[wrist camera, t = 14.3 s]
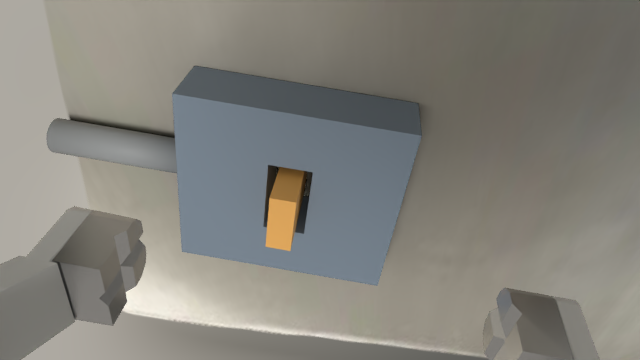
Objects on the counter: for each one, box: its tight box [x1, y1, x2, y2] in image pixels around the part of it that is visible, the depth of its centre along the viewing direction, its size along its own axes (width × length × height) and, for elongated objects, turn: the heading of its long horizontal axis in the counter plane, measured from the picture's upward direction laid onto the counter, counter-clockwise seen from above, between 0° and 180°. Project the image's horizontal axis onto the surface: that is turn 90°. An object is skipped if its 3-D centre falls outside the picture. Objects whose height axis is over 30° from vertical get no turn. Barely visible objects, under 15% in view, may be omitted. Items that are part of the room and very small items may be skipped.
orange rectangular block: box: [265, 167, 307, 251], centre depth 40 cm, size 5×2×8 cm, turn 173°
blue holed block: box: [47, 66, 422, 286], centre depth 41 cm, size 30×16×5 cm, turn 83°
